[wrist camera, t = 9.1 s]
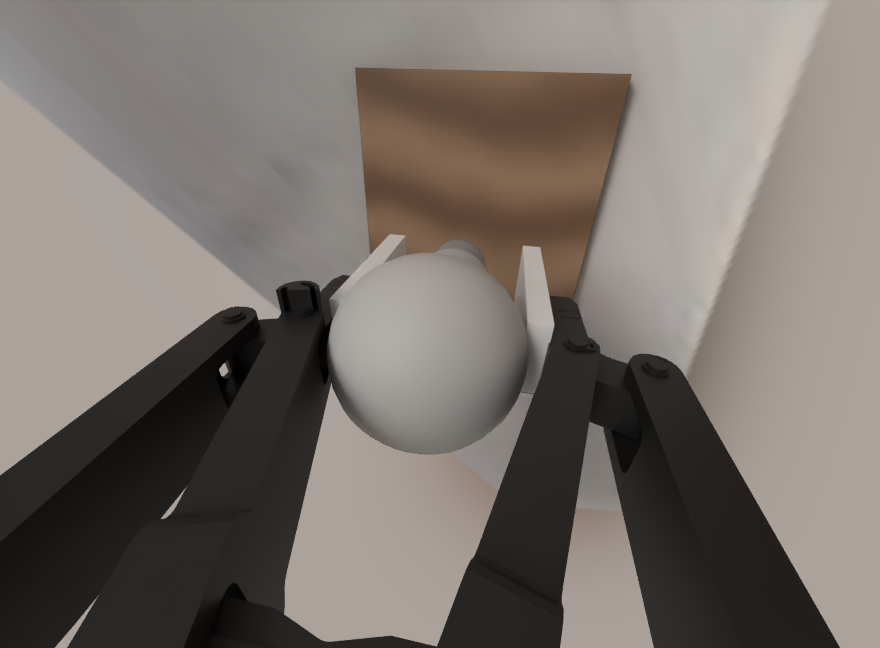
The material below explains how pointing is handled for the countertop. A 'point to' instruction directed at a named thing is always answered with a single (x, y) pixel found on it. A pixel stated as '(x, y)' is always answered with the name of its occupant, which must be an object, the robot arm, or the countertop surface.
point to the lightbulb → (428, 351)
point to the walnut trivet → (489, 162)
